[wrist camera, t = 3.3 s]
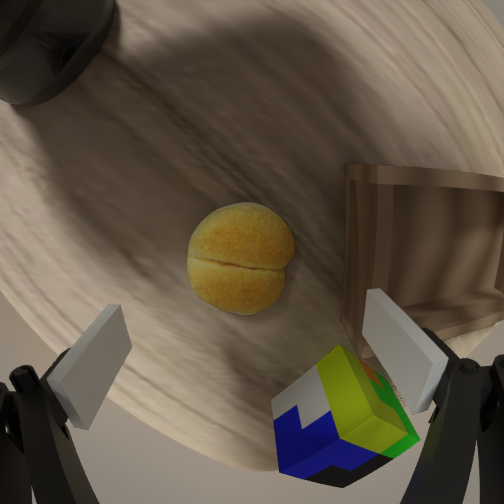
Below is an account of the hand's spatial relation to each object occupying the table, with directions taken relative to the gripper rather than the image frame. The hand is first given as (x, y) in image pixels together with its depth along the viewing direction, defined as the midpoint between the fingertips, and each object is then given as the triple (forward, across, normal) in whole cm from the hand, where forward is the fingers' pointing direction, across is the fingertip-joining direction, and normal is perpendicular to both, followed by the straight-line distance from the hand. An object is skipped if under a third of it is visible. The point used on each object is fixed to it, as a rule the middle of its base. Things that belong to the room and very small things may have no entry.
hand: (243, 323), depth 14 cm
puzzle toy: (+11, +9, -16) cm, 21 cm away
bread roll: (+10, 0, 0) cm, 10 cm away
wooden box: (+10, +20, +1) cm, 22 cm away
